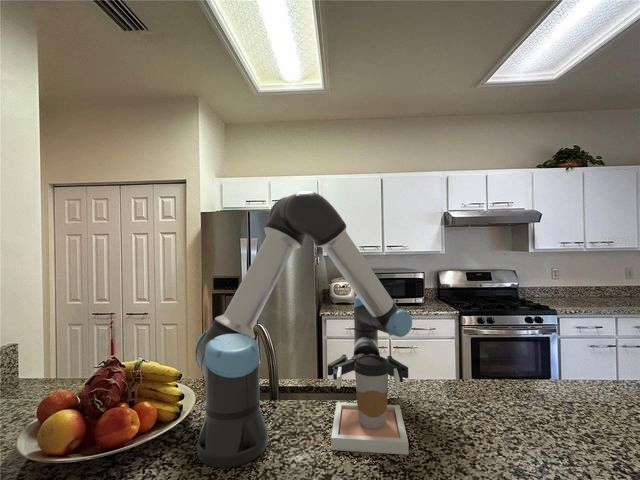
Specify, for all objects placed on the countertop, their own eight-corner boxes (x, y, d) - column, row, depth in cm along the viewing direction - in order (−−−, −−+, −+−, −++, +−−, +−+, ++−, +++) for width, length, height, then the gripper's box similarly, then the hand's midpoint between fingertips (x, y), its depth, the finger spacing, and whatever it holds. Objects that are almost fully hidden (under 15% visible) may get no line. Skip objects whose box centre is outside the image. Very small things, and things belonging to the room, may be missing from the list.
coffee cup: (387, 414, 83) (386, 354, 83) (392, 433, 75) (391, 366, 75) (354, 413, 84) (353, 354, 84) (355, 432, 76) (354, 366, 76)
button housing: (331, 449, 72) (331, 437, 72) (336, 412, 88) (336, 402, 88) (408, 454, 70) (408, 442, 70) (399, 415, 86) (399, 405, 86)
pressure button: (339, 441, 74) (339, 437, 74) (342, 412, 87) (342, 408, 87) (399, 445, 72) (399, 440, 72) (393, 415, 85) (393, 411, 85)
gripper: (410, 368, 96) (424, 402, 75) (324, 365, 99) (314, 398, 78) (409, 342, 96) (423, 369, 75) (324, 340, 99) (313, 365, 78)
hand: (367, 384), depth 76 cm, fingers open, 13 cm apart
